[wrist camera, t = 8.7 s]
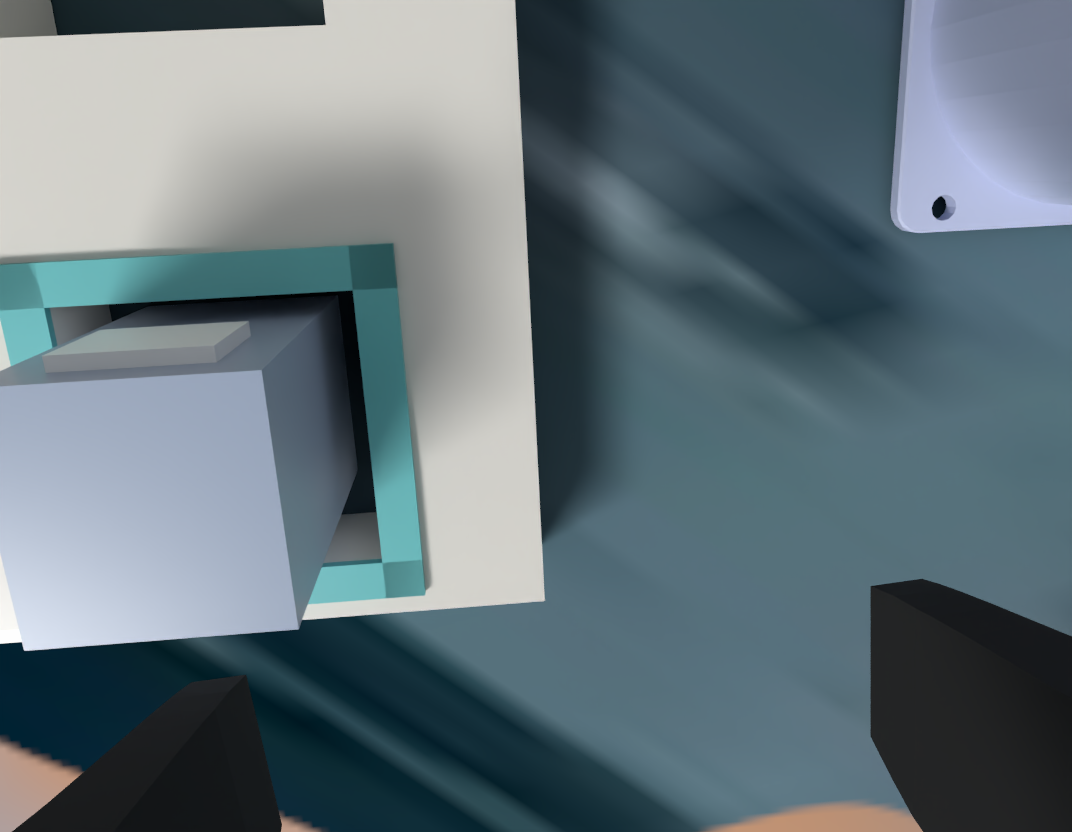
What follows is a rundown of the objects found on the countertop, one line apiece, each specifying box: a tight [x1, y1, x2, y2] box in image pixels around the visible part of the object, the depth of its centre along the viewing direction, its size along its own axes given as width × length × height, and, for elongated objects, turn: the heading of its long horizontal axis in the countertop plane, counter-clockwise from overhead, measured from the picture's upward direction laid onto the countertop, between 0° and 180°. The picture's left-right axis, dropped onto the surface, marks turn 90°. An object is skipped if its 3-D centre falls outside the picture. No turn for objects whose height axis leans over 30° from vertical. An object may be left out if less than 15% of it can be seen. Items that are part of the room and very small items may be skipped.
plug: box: [0, 295, 358, 651], centre depth 15 cm, size 4×4×7 cm
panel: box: [0, 0, 545, 643], centre depth 16 cm, size 12×18×3 cm, turn 3°
